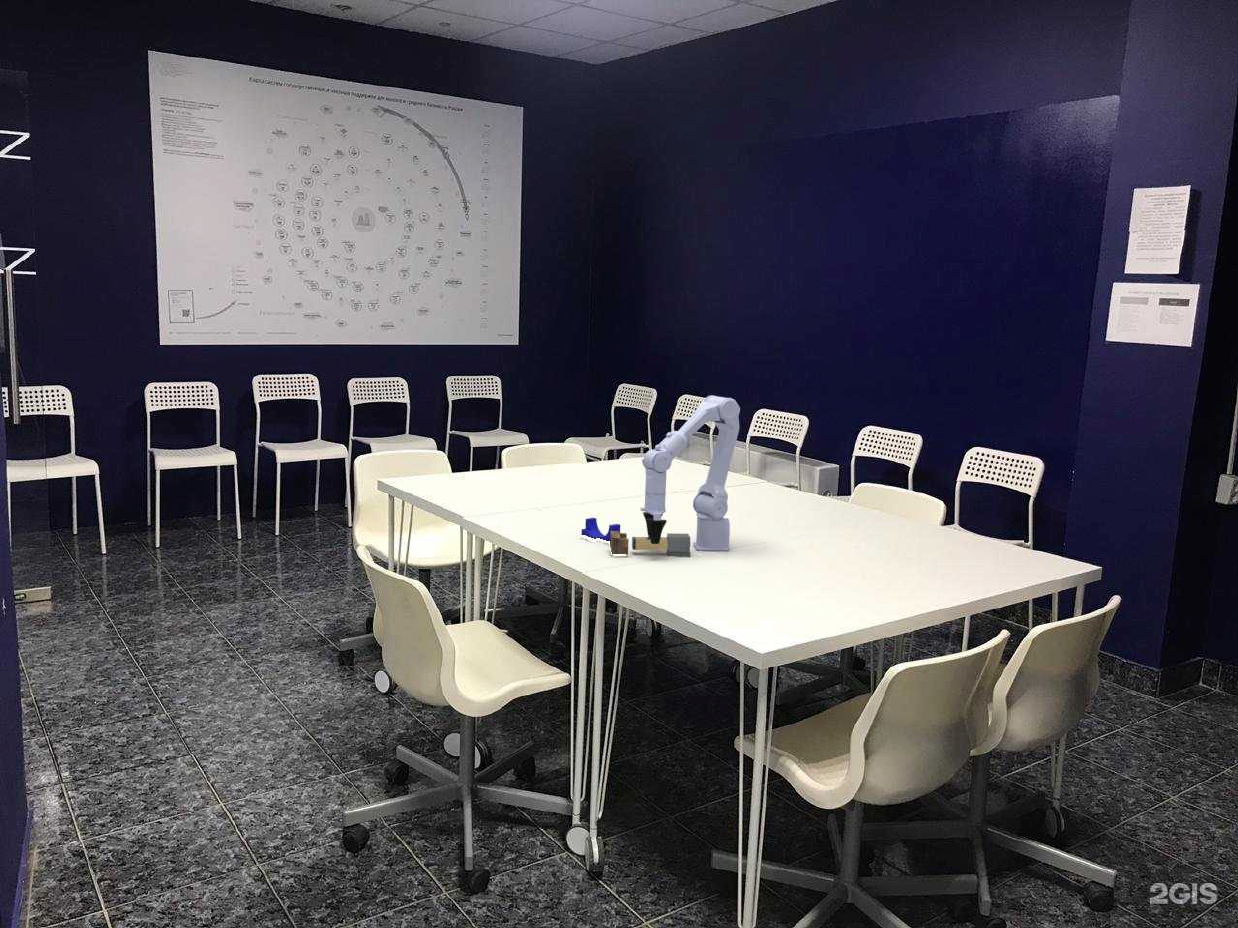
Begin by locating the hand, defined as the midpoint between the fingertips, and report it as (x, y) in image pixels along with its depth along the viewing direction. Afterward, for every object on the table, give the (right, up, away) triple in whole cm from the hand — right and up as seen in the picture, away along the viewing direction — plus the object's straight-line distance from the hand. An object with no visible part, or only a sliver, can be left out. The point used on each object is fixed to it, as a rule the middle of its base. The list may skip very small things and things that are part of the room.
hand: (653, 540), depth 281 cm
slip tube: (+1, -2, 0) cm, 3 cm away
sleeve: (+7, -4, +1) cm, 8 cm away
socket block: (-10, -4, 0) cm, 10 cm away
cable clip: (-15, -2, +14) cm, 21 cm away
